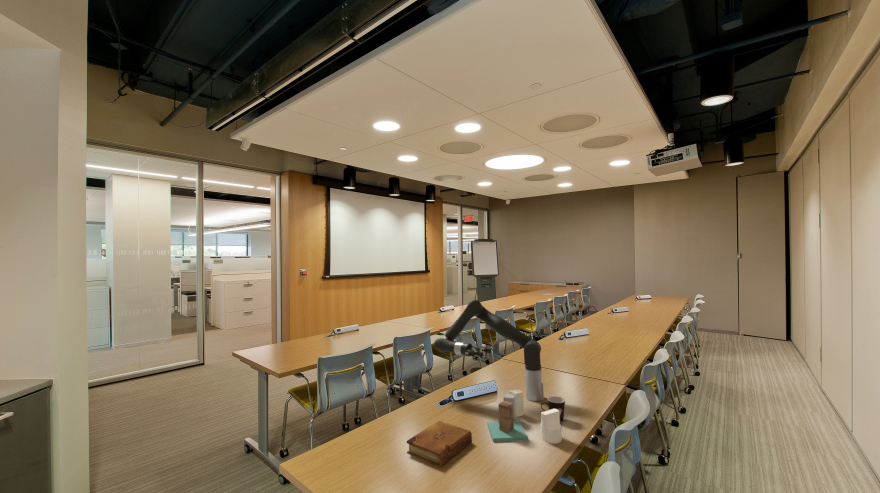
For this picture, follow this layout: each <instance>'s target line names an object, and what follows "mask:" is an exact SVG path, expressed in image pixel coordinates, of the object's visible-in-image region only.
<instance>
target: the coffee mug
mask: <svg viewBox="0 0 880 493" xmlns="http://www.w3.org/2000/svg"><path fill="white" fill-rule="evenodd" d="M544 404H546V405H547V406H548V410H551V409H554V408H555V409H557V410H559V414H560V423H562V422H564V418H565V408H566V407H565V406H566V398H564V397H561V396H556V395H555V396H547V402H546V401H543V402H542V403H541V404H540V408H541V409H542V411H543V412H544V411H546V410H545V409H544V408H543V405H544Z"/></svg>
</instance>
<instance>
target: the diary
mask: <svg viewBox="0 0 880 493" xmlns="http://www.w3.org/2000/svg"><path fill="white" fill-rule="evenodd" d="M472 435H473V433H472V432H471V430H469V429H466V428H463V427H459V426H456V425H453V424H450V423H447V422H444V421H442V420H438V421H436V422H434V423H433V424H432V425H430V426H428V427H426V428H425V429H424V430H421V431H420V432H418V433H417V434H416V435H414V436H412V437H410V438H409V439H407V440H406V444H408V450H407V451H406V454H408V453H409V455H410V454H411V455H410V456H414V457H415V458H418V459H420V460H422V459H423V460H422V461H425V462H427V461H428V462H427V463H429V464H432V465H434V466H437V467H439V468H441V467H443V466H444V465H445V464H446V463H448V462H449V461H450V460H451V459H453V458H454V457H455V456H456V455H458V454H459V453H460V452H462V451H463V450H464V449H465V448H467V446H468V445H470V444H471V443H473V436H472Z"/></svg>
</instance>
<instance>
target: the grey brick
mask: <svg viewBox="0 0 880 493" xmlns="http://www.w3.org/2000/svg"><path fill="white" fill-rule="evenodd" d="M503 395H504V396H503V401H506V402H510V403H513V418H514V421H516V417H515V395H512V394H510V393H505V394H503Z"/></svg>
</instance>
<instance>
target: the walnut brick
mask: <svg viewBox="0 0 880 493" xmlns="http://www.w3.org/2000/svg"><path fill="white" fill-rule="evenodd" d="M498 422H499V430H501V431H504V432H508V433H509V432H511V431H512V430H513V429H514V418H513V403H510V402H506V401H504V400H503V401H500V403H498Z"/></svg>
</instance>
